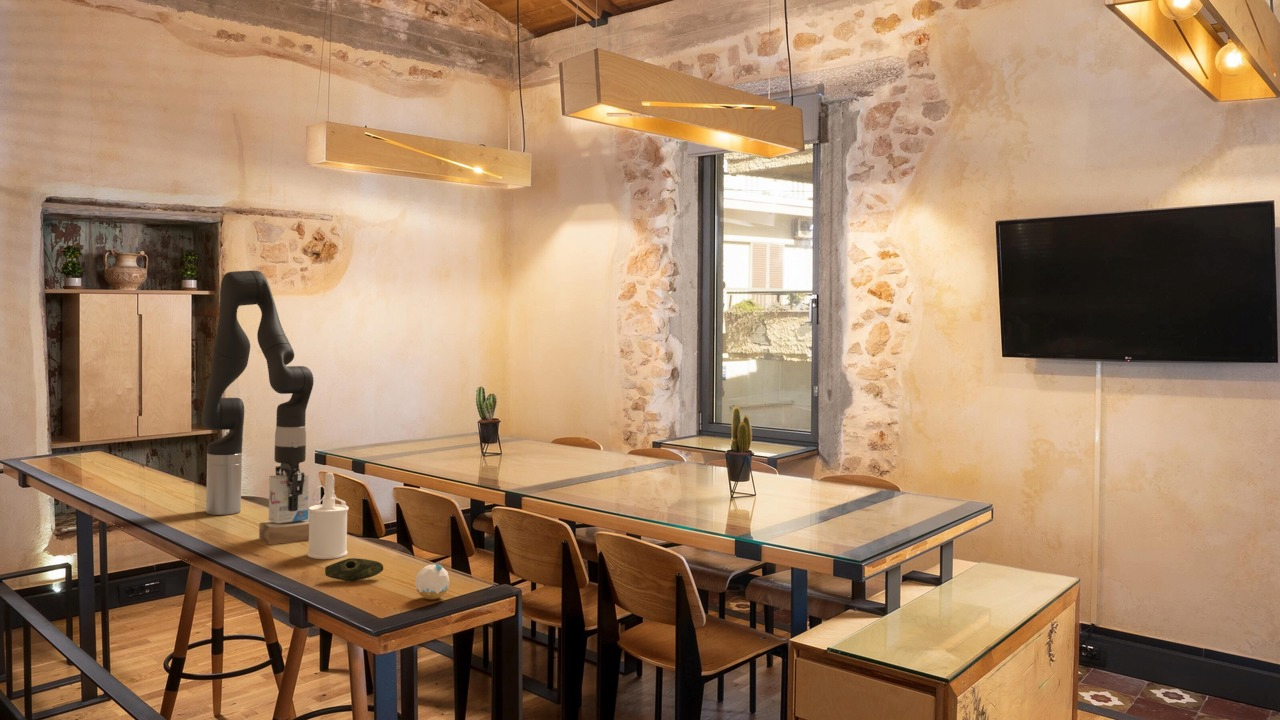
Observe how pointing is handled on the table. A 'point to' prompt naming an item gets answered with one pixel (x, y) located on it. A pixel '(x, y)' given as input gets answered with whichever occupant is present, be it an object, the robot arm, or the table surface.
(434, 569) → the ornament
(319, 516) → the white canister grenade
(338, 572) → the decorative stone
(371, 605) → the table surface
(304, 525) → the open box
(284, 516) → the ink box
